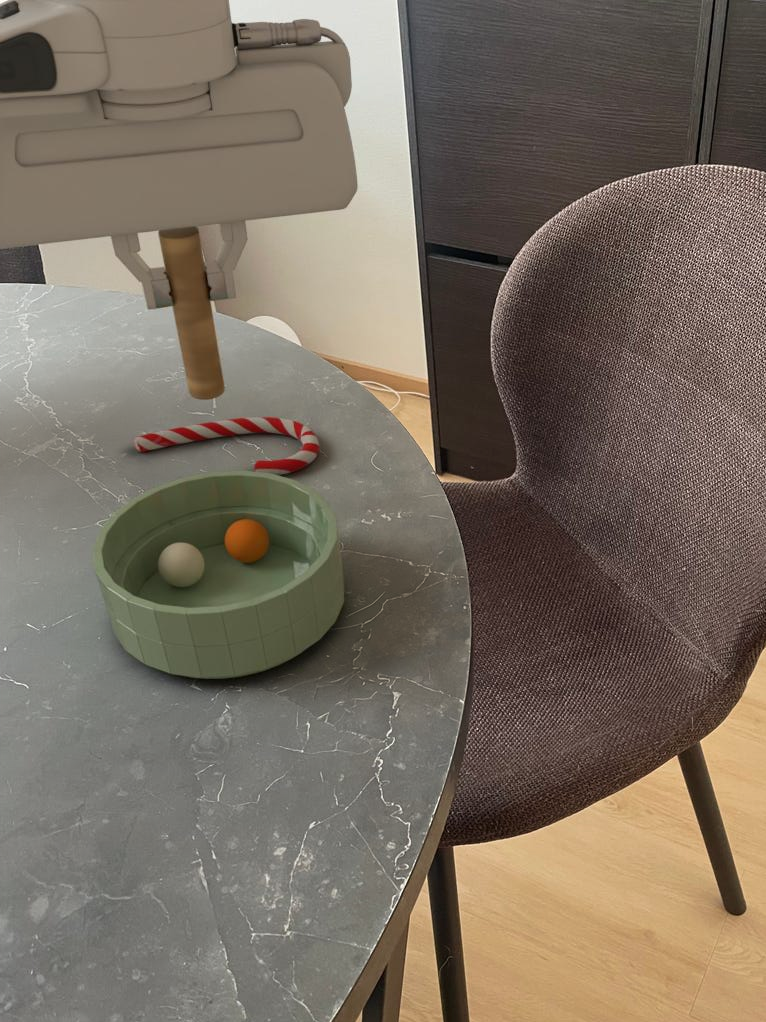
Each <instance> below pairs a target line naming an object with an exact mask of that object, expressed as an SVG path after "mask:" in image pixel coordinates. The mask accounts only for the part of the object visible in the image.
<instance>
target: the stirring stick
mask: <svg viewBox="0 0 766 1022" xmlns="http://www.w3.org/2000/svg"><path fill="white" fill-rule="evenodd" d="M157 234H158V235H157V236H158V239H159V245H160V251H161V255H162V259H163V260H162V261H163V267H164V268H165V271H166V274H167V276H168V280H169V285H170V293H171V296H172V300H173V306H171V307H172V313H173V317H174V323H175V327H176V333H177V339H178V344H179V349H180V353H181V358H182V364H183V371H184V375H185V380H186V385H187V390H188V394H189V395H190V396H191V398H193V399H196V400H200V401H202V400H203V401H208V400H213V399H216V398H219V397H221V396H222V395H223V394H224V393H225V392H226V391H225V390H226V387H225V379H224V373H223V368H222V362H221V356H220V349H219V343H218V337H217V332H216V326H215V319H214V313H213V307H212V301H210V297H209V291H208V283H207V279H206V272H205V264H204V262H205V259H204V253H203V246H202V241H201V234H200V230H199V227H198V226H195V227H187V228H178V229H169V230H161V231H157Z"/></svg>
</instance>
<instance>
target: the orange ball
mask: <svg viewBox="0 0 766 1022" xmlns="http://www.w3.org/2000/svg"><path fill="white" fill-rule="evenodd" d="M225 546H226V549H227V551H228V553H229V554H230V555H231V556H232V557H233V558H234V559H236V560H237V561H240V562H244V563H251V562H255V561H257V560H259V559H261V558H262V557H263V556H264V555H265V553H266V552H267V550H268V547H269V536H268V533H267V531H266V529H265V528H264V527H263V526H262V525H261V524H260V523H258V522H256V521H254V520H250V519H243V520H239V521H237V522H235V523H233V524H232V525H231V526H230V527H229V529H228V530H227V532H226V535H225Z"/></svg>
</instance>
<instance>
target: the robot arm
mask: <svg viewBox="0 0 766 1022" xmlns="http://www.w3.org/2000/svg"><path fill="white" fill-rule="evenodd" d="M322 37H324V38H327V39H329V40H327V41H322ZM351 65H352V64H351V56H350V52H349V49H348V46H347V45H346V43H345V41H344V40H343V39H342V37H340V35H339V34H338V33H336V32H335V31H334V30H331V29H329V28H327V27H323V26H321V24H320V22H319V20H316V19H309V18H299V19H293V20H292V22H291V21H290V22H269V21H255V22H237V23H235V22H233V21H232V14H231V6H230V0H6V1H3V2H1V3H0V249H1V250H3V249H13V248H21V247H29V246H37V245H45V244H55V243H64V242H73V241H74V242H75V241H82V240H90V239H99V238H107V237H110V239H111V244H112V248H113V251H114V255H115V257H116V258H117V259H118V260H119V261H120V262H121V263H122V264H123V266H124V267H125V268H126V269H127V270H128V271H129V272H130V273H131V274H132V275H133V277H134V278H135V279H136V280H137V281H138V282H139V283H140V284H141V290H142V293H143V298H144V302H145V306H146V308H147V310H148V311H150V310H157V309H164V308H169V307H172V306H173V300H172V296H171V293H170V285H169V280H168V276H167V274H166V271H165V266H159V267H150V266H149V265H148V264H147V263H146V261H145V260H144V259H143V258H142V257H141V256H140V254H139V253H140V252H141V251H142V249H141V243H140V240H139V234H142V233H143V234H144V233H150V232H159V231H161V230H169V229H178V228H187V227H195V226H196V227H203V226H213V225H216V228H217V231H218V233H219V235H220V237H221V240H222V241H221V244H220V247H219V249H218V252H217V255H216V257H215V259H214V260H208V261H204V264H205V272H206V279H207V283H208V291H209V297H210V301H211V302H216V301H223V300H230V299H237V293H236V287H235V280H234V274H233V273H234V272H233V271H235V270H236V267H237V265H238V263H239V261H240V258H241V256H242V254H243V251H244V248H245V247H246V245H247V242H248V240H249V239H248V231H247V224H246V221H247V222H248V221H255V220H256V221H257V220H262V219H263V220H264V219H273V218H281V217H288V216H289V217H290V216H296V215H297V216H298V215H306V214H316V213H325V212H331V211H341V210H345V209H347V208H348V206H350V203H351V201H353V199H354V197H355V195H356V194H357V191H358V188H359V187H358V186H359V185H358V174H357V165H356V158H355V152H354V146H353V141H352V136H351V131H350V126H349V121H348V118H347V113H346V109H345V107H346V105H347V104H348V102H349V100H350V97H351V93H352V88H353V83H352V82H353V81H352V66H351Z"/></svg>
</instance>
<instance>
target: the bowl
mask: <svg viewBox="0 0 766 1022" xmlns="http://www.w3.org/2000/svg"><path fill="white" fill-rule="evenodd" d="M243 519H250V520H254V521H256V522H258V523H260V524H261V525H262V526H263V527H264V528H265V529H266V531H267V533H268V536H269V547H268V550H267V552H266V553H265V555H264V556H263V557H262V558H261V559H259V560H257V561H255V562H251V563H244V562H240V561H237V560H236V559H234V558H233V557H232V556H231V555H230V554H229V553H228V551H227V549H226V546H225V535H226V532H227V530H228V529H229V527H230V526H231V525H232V524H233V523H235V522H237V521H239V520H243ZM340 539H341V538H340V531H339V522H338V518H337V517H336V515H335V513H334V511H333V508H332V506H331V505H330V503H328V501H327V500H326V499H325V498H324V497H322V496H321V494H319V493H318V491H316V490H315V489H313V488H311V487H309V486H307V485H306V484H303V483H301V482H299V481H297V480H295V479H293V478H289V477H285V476H281V475H274V474H270V473H262V472H255V471H254V470H253V471H252V470H226V471H222V470H221V471H211V472H205V473H199V474H195V475H190V476H184V477H180V478H178V479H175V480H172V481H169V482H166V483H163V484H160V485H157V486H154V487H152V488H151V489H149V490H147V491H145V492H142V493H141V494H139V495H137V496H135V497H133V498H132V499H130V500H129V501H128V502H126V503H124V505H122V506H121V507H120V508H119V509H117V510H116V511H115V512H113V513H112V514H111V515H110V516H109V518H108V519H107V520H106V522H105V523H104V524H103V526H101V528H100V530H99V531H98V533H97V535H96V538H95V541H94V545H93V548H92V553H91V555H92V561H93V568H94V573H95V576H96V580H97V583H98V586H99V588H100V592H101V595H102V599H103V601H104V606H105V608H106V611H107V614H108V618H109V621H110V625H111V628H112V631H113V634H114V635H115V638H116V639H117V640H118V641H119V644H120V645H121V646H122V648H123V649H124V650H125V652H127V653H128V654H130V655H131V656H132V657H134V658H135V659H136V660H138V661H139V662H141V663H142V664H143V665H146V666H148V667H150V668H154V669H156V670H159V671H162V672H164V673H167V674H171V675H176V676H180V677H181V676H182V677H186V678H192V679H203V680H223V679H224V680H225V679H233V678H240V677H245V676H250V675H254V674H258V673H261V672H265V671H267V670H270V669H272V668H276V667H278V666H281V665H282V664H285V663H287V662H288V661H290V660H292V659H294V658H296V657H297V656H298V655H300V654H302V653H303V652H305V651H306V650H307V649H309V648H310V647H311V646H313V645H314V644H316V643H317V642H319V641H320V640H321V639H322V638H323V637H324V636H325V634H326V633H327V632H328V631H329V630H330V629H331V628H332V626H333V625H334V624H335V623H336V621H337V619H338V616H339V615H340V612H341V610H342V607H343V605H344V602H345V577H344V568H343V561H342V559H343V558H342V549H341V541H340ZM174 543H188V544H190V545H192V546H194V547H195V548H197V549H198V550H199V551H200V553H201V554H202V556H203V559H204V564H205V565H204V572H203V574H202V576H201V578H200V579H199V580H198V581H197V582H196V583H195V584H193V585H191V586H188V587H176V586H173V585H171V584H169V583H167V582H166V581H165V580H164V579H163V578H162V576H161V574H160V572H159V569H158V560H159V557H160V555H161V553H162V551H163V550H164V549H165V548H166V547H168V546H169V545H171V544H174Z"/></svg>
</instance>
